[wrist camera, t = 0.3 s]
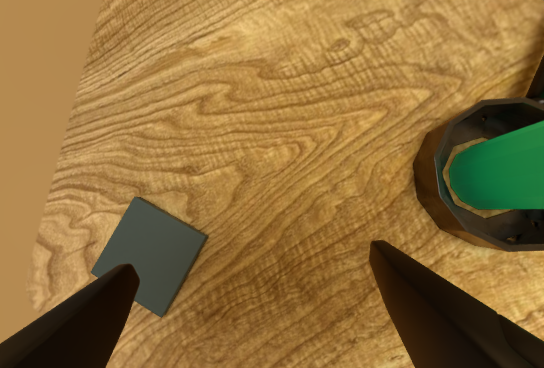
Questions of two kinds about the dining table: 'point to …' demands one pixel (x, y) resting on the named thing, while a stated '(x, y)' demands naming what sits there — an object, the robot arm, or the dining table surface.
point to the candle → (502, 171)
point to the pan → (465, 127)
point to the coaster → (152, 253)
